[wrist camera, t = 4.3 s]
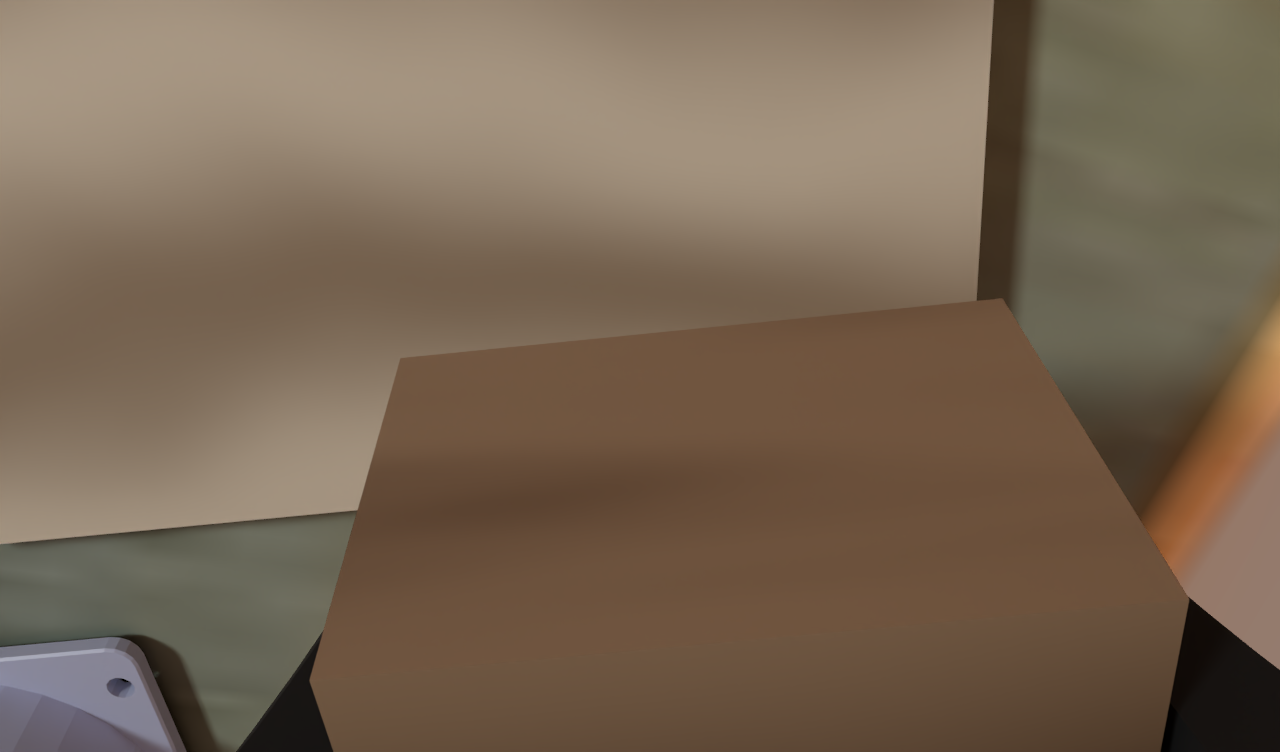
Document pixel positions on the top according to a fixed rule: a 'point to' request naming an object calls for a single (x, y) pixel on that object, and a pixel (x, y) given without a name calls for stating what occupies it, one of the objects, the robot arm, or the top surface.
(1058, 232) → the top surface
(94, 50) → the beige flat square
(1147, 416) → the top surface
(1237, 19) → the top surface
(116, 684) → the robot arm
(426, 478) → the walnut block
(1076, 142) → the top surface
